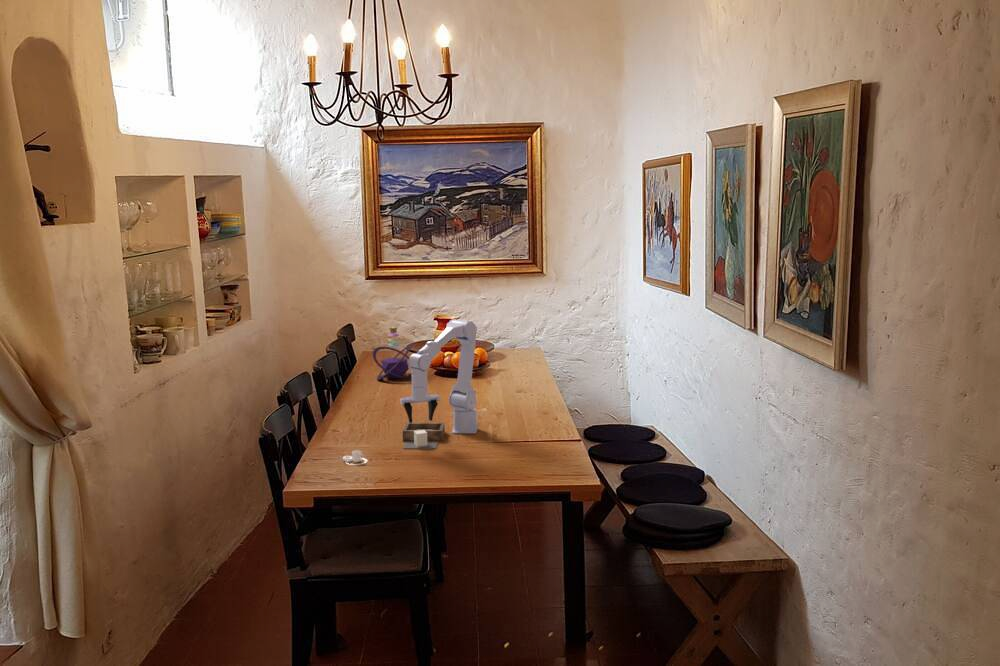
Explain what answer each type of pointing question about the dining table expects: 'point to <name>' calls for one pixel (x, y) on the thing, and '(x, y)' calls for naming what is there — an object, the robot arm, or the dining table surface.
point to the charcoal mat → (429, 446)
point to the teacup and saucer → (355, 458)
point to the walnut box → (433, 430)
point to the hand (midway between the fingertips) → (420, 421)
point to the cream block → (420, 438)
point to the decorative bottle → (393, 359)
